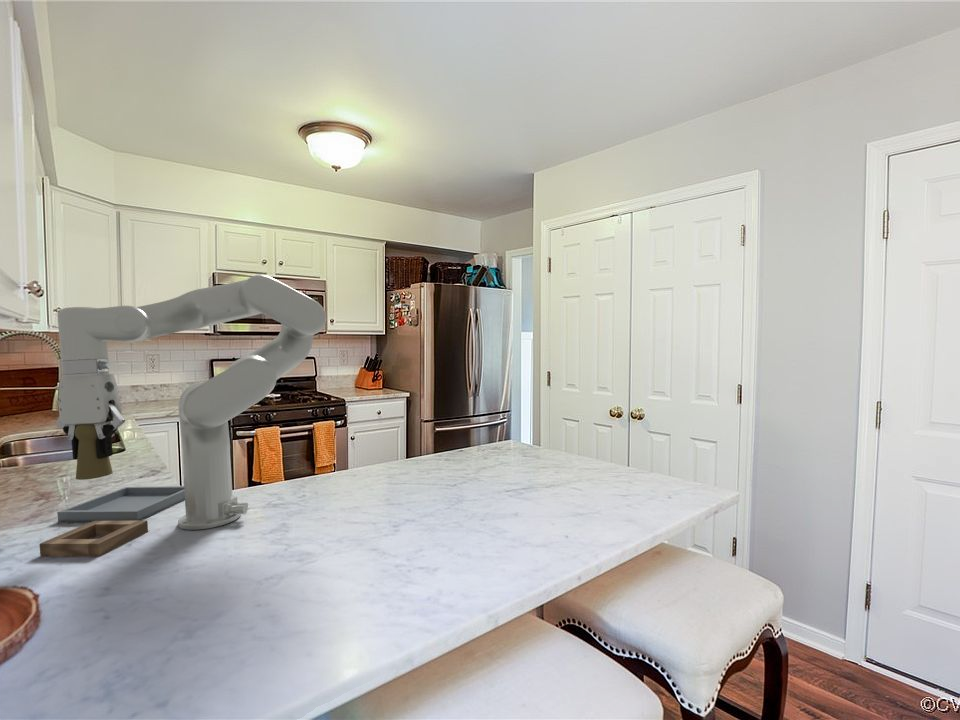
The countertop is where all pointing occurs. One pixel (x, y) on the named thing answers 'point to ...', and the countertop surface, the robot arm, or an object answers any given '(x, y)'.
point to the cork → (90, 455)
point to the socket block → (82, 545)
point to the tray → (124, 505)
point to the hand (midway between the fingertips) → (93, 456)
